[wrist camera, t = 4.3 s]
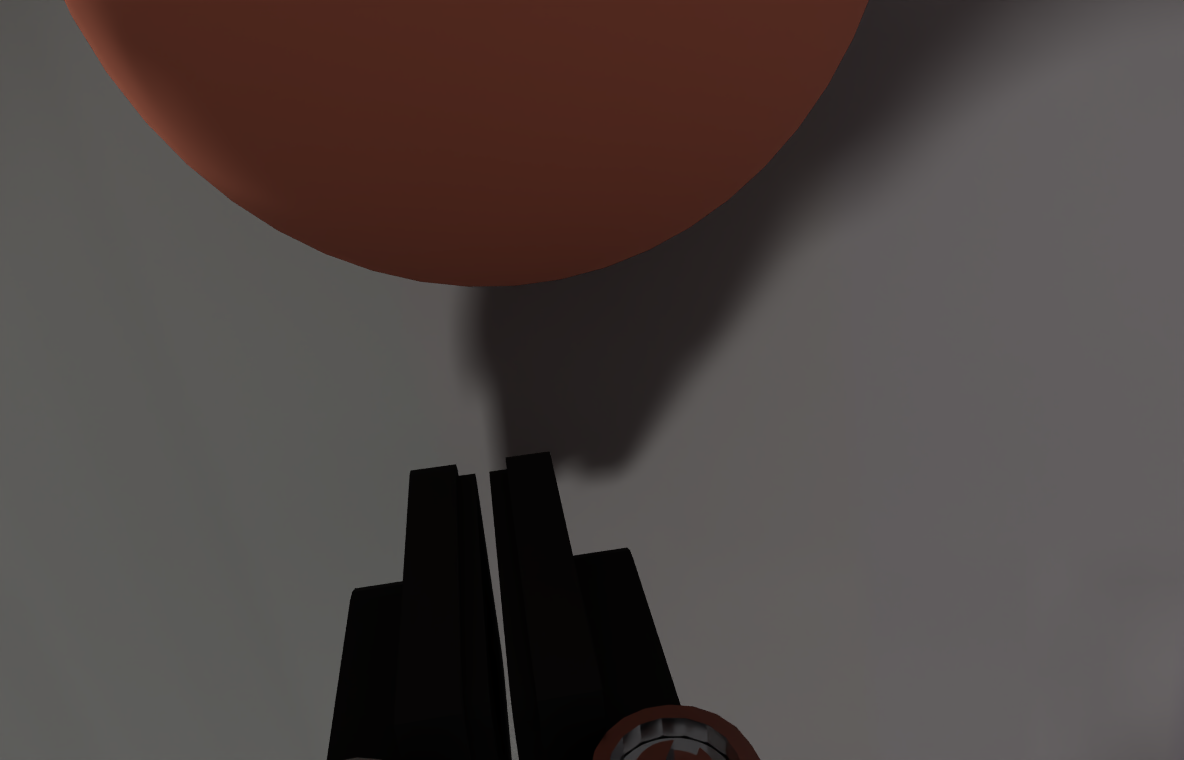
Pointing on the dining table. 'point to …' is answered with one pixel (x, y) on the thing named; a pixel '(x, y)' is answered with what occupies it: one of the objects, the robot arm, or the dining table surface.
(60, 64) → the dining table surface
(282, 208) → the ball
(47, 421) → the dining table surface
